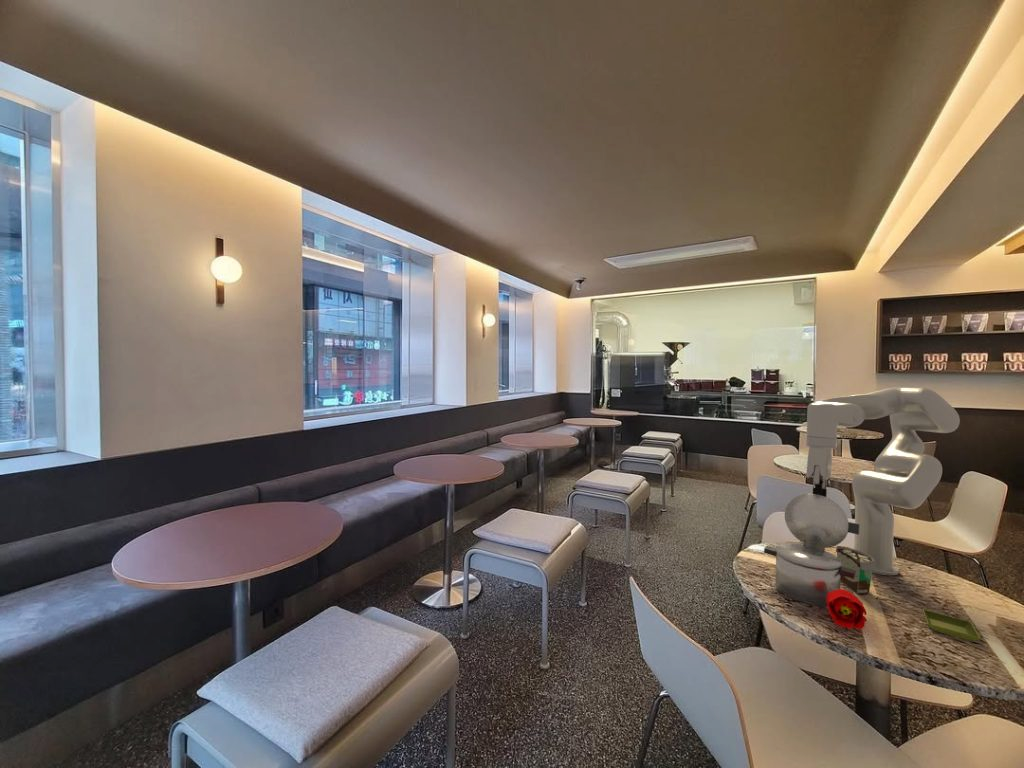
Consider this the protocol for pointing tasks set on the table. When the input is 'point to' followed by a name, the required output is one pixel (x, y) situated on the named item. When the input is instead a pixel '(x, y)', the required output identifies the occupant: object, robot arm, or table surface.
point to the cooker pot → (807, 572)
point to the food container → (860, 564)
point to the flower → (846, 609)
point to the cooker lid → (818, 521)
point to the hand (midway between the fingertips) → (819, 500)
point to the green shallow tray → (951, 625)
